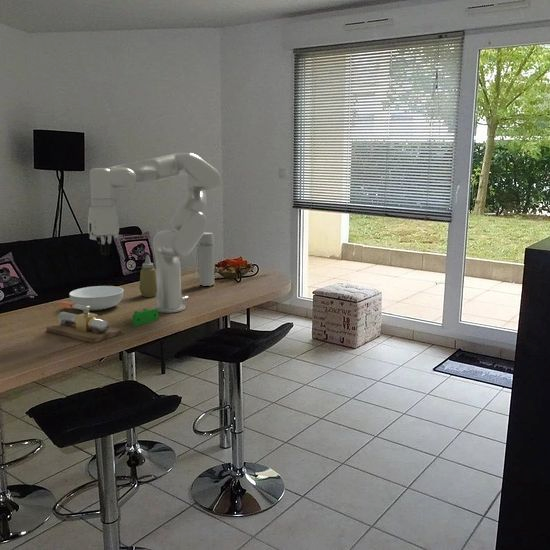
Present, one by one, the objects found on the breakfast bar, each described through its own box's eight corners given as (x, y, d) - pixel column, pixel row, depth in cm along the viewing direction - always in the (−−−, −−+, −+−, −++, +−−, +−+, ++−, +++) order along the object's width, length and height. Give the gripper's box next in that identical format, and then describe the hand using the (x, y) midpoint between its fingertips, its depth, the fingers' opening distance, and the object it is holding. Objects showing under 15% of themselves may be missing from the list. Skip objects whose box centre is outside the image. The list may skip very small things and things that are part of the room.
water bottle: (217, 284, 278) (216, 232, 273) (211, 287, 270) (210, 234, 265) (198, 283, 280) (197, 231, 275) (193, 286, 272) (191, 234, 267)
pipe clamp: (151, 318, 219) (150, 307, 218) (158, 320, 217) (157, 308, 216) (128, 325, 210) (127, 313, 209) (135, 327, 208) (134, 314, 207)
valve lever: (92, 313, 198) (92, 305, 198) (86, 315, 196) (85, 307, 195) (65, 308, 205) (65, 300, 204) (59, 310, 203) (58, 302, 202)
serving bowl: (98, 299, 248) (97, 283, 246) (135, 305, 238) (134, 289, 236) (58, 310, 230) (57, 293, 229) (96, 317, 220) (95, 299, 219)
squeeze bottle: (157, 293, 259) (155, 253, 255) (159, 297, 251) (158, 256, 248) (138, 294, 256) (137, 254, 253) (140, 298, 249) (138, 257, 245)
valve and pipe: (68, 321, 208) (67, 308, 207) (111, 331, 196) (110, 317, 195) (56, 325, 204) (55, 311, 203) (99, 335, 192) (98, 320, 191)
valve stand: (74, 323, 212) (74, 319, 211) (121, 333, 199) (121, 329, 199) (46, 331, 202) (46, 327, 201) (93, 343, 189) (93, 338, 189)
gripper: (117, 202, 212) (119, 251, 216) (77, 203, 203) (81, 255, 206) (127, 203, 207) (129, 253, 211) (86, 205, 197) (90, 258, 201)
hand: (105, 254), depth 208 cm, fingers closed
